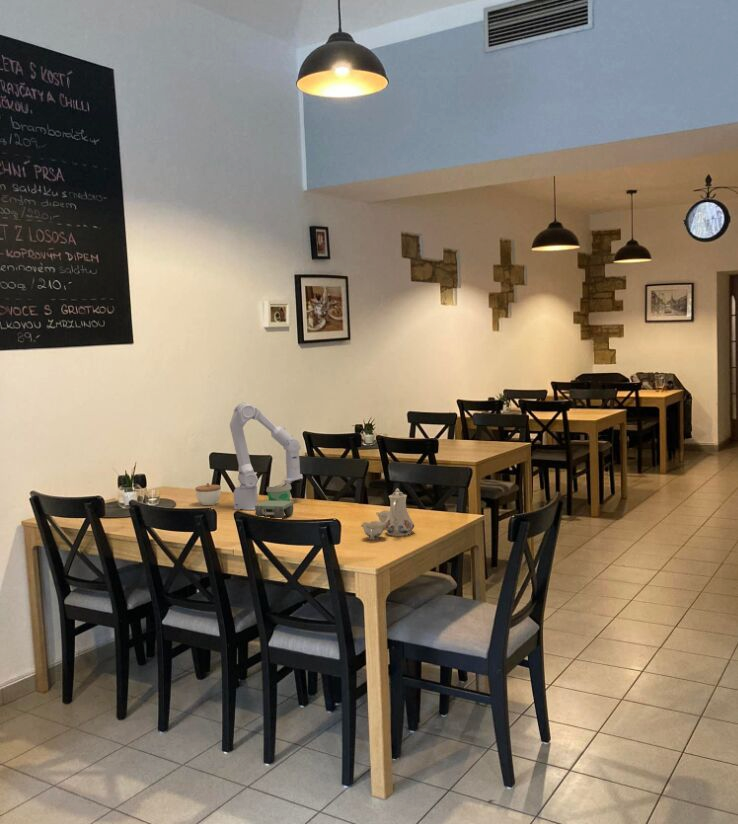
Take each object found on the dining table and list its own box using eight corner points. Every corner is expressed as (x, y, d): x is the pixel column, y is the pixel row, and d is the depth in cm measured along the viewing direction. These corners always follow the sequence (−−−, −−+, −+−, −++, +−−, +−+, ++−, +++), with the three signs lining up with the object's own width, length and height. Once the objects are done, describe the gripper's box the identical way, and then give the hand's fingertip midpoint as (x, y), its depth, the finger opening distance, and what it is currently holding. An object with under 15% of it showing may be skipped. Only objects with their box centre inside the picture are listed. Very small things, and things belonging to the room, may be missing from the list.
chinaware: (378, 527, 302) (371, 484, 301) (422, 523, 298) (415, 479, 297) (360, 547, 275) (353, 499, 273) (408, 543, 271) (401, 494, 270)
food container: (278, 512, 329) (277, 488, 328) (267, 510, 332) (266, 486, 331) (298, 506, 338) (297, 482, 337) (287, 505, 342) (286, 481, 341)
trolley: (253, 521, 314) (252, 506, 313) (269, 513, 327) (268, 499, 327) (281, 522, 310) (280, 507, 309) (296, 514, 324) (295, 499, 323)
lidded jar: (224, 501, 356) (223, 480, 355) (217, 506, 345) (216, 485, 344) (200, 502, 357) (199, 481, 356) (193, 507, 346) (191, 485, 345)
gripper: (294, 469, 337) (296, 501, 338) (308, 464, 351) (309, 494, 352) (279, 469, 339) (281, 501, 341) (293, 463, 353) (295, 494, 354)
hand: (294, 498), depth 347 cm, fingers closed
